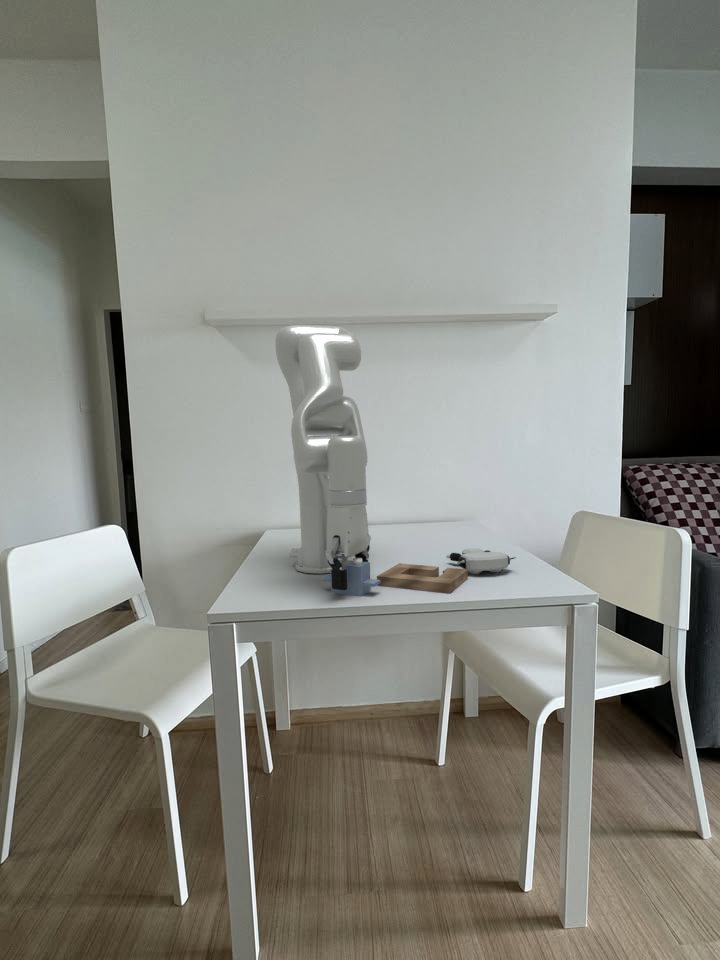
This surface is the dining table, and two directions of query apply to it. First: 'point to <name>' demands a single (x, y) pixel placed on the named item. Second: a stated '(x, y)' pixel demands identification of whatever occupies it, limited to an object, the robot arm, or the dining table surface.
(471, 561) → the robot toy
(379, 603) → the dining table surface
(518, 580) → the dining table surface
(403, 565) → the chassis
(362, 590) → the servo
